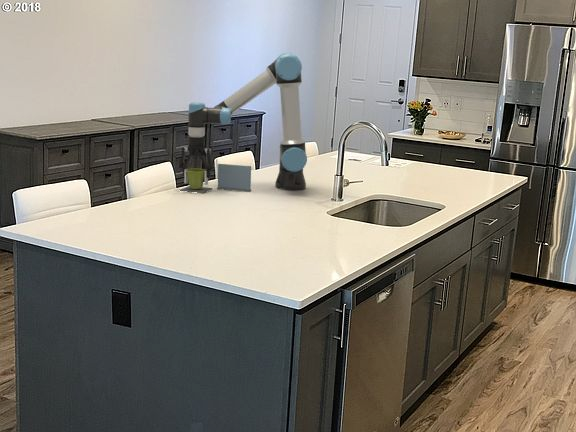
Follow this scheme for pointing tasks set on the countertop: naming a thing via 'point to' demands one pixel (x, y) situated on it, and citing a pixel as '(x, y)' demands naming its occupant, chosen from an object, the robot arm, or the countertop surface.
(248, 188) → the screen
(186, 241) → the countertop surface
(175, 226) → the countertop surface
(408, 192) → the countertop surface
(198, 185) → the plant pot
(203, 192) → the mat
